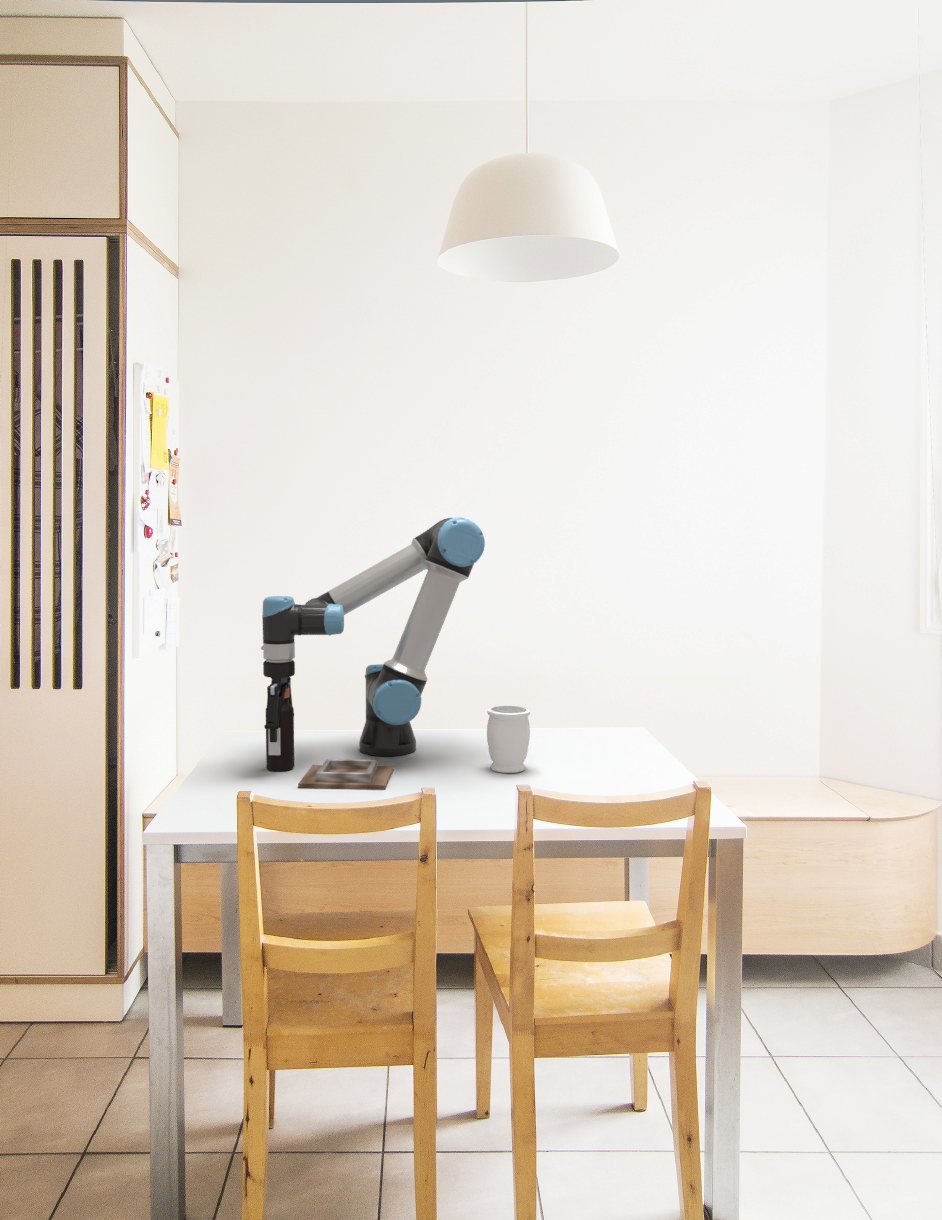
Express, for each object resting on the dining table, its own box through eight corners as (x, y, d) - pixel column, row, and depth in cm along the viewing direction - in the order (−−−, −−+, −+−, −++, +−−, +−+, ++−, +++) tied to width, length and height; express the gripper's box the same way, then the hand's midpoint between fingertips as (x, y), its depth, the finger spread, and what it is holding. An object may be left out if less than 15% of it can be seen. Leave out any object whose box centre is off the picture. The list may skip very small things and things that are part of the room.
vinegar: (292, 771, 224) (291, 690, 222) (264, 772, 224) (263, 691, 222) (295, 764, 231) (295, 685, 229) (268, 764, 230) (267, 685, 228)
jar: (534, 765, 231) (535, 707, 230) (522, 776, 222) (523, 715, 220) (493, 761, 235) (494, 703, 233) (480, 772, 225) (481, 711, 224)
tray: (393, 770, 226) (393, 758, 226) (385, 789, 210) (385, 776, 210) (312, 768, 227) (312, 756, 227) (298, 787, 211) (298, 775, 211)
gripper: (275, 652, 236) (276, 737, 238) (250, 667, 213) (252, 761, 215) (304, 653, 236) (305, 738, 238) (283, 667, 213) (284, 761, 215)
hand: (280, 749), depth 227 cm, fingers open, 10 cm apart
